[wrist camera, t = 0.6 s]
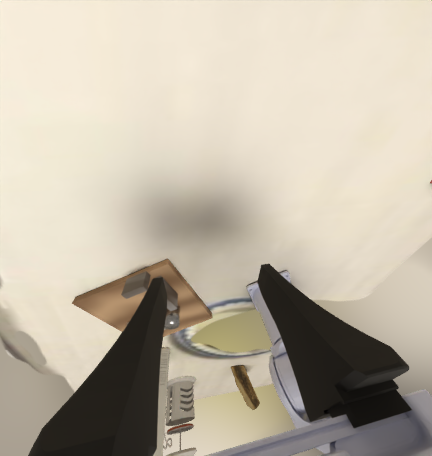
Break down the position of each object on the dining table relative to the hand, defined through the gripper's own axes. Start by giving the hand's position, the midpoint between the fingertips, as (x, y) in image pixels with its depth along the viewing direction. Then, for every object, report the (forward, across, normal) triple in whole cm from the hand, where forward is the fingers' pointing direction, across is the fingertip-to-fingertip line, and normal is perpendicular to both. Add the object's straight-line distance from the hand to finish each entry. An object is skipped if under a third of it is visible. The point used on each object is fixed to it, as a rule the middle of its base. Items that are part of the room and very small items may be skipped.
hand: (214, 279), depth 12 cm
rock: (+10, -10, +61) cm, 63 cm away
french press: (+10, +10, +59) cm, 61 cm away
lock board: (+10, +9, +17) cm, 22 cm away
